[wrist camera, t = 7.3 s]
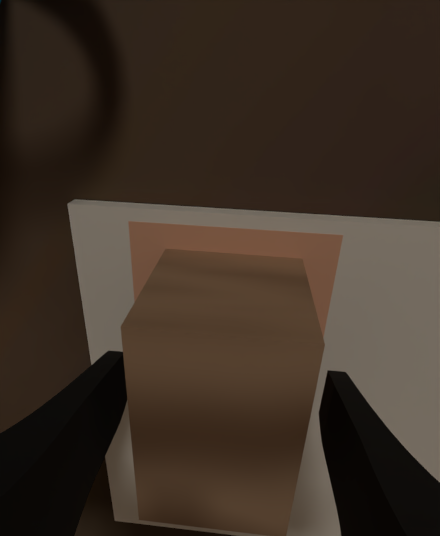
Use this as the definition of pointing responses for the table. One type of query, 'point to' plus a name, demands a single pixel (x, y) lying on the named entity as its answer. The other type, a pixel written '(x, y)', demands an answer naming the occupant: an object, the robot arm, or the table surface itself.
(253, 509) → the box
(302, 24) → the table surface
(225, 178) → the table surface
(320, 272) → the card mat
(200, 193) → the table surface
